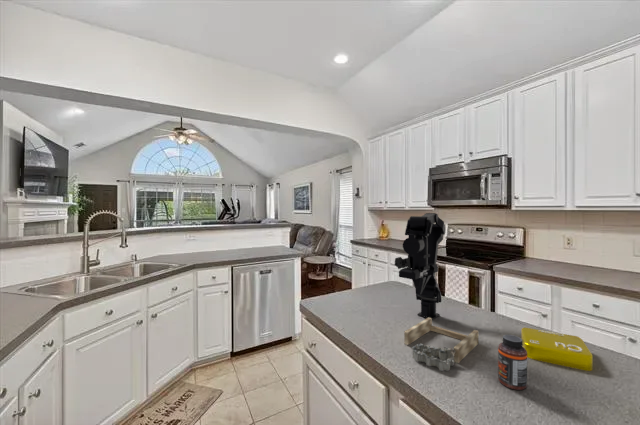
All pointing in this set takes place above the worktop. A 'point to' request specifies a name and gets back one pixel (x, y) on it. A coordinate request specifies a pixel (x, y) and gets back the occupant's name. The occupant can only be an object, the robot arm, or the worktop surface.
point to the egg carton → (426, 352)
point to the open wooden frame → (426, 326)
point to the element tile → (557, 348)
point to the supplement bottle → (512, 363)
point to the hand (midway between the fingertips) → (419, 294)
